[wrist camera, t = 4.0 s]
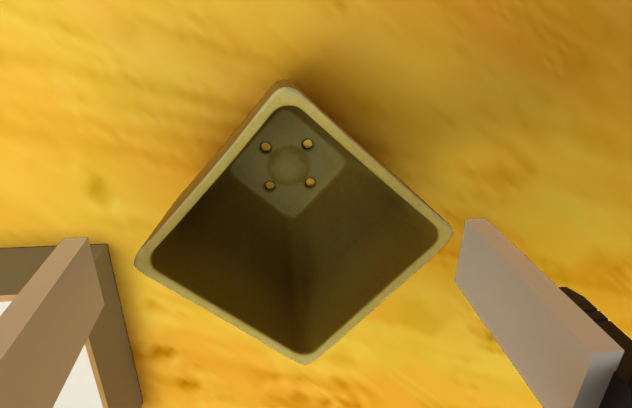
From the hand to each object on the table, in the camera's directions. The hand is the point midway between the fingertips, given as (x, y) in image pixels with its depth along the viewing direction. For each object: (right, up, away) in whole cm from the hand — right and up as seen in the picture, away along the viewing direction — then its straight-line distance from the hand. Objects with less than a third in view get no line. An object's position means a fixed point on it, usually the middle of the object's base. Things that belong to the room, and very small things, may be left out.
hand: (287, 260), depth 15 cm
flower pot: (-1, +4, +9) cm, 10 cm away
